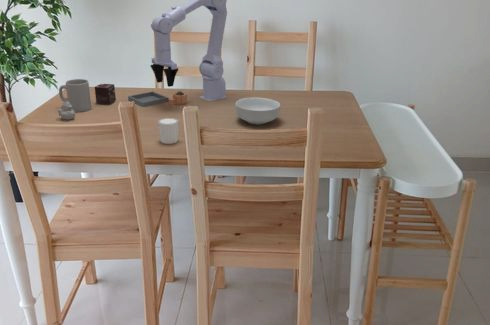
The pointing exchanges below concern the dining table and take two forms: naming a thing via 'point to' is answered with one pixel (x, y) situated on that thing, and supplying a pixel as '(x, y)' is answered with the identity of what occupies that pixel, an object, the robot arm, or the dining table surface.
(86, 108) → the mug
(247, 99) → the cereal bowl
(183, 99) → the ring
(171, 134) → the white ribbed cylinder
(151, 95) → the tray
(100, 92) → the box
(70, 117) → the grey stacked lumpy shape
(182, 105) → the stake
